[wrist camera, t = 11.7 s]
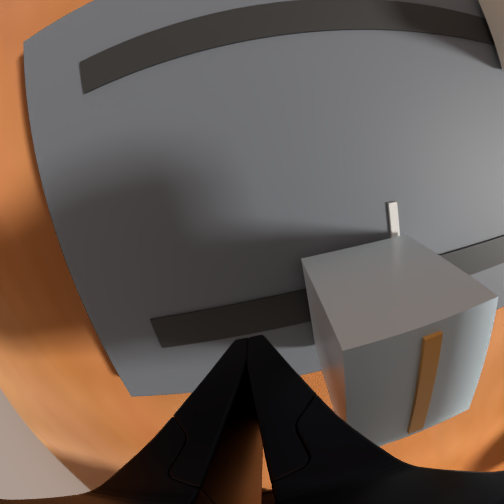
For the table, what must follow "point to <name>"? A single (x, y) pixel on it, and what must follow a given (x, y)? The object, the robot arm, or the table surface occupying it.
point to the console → (257, 161)
